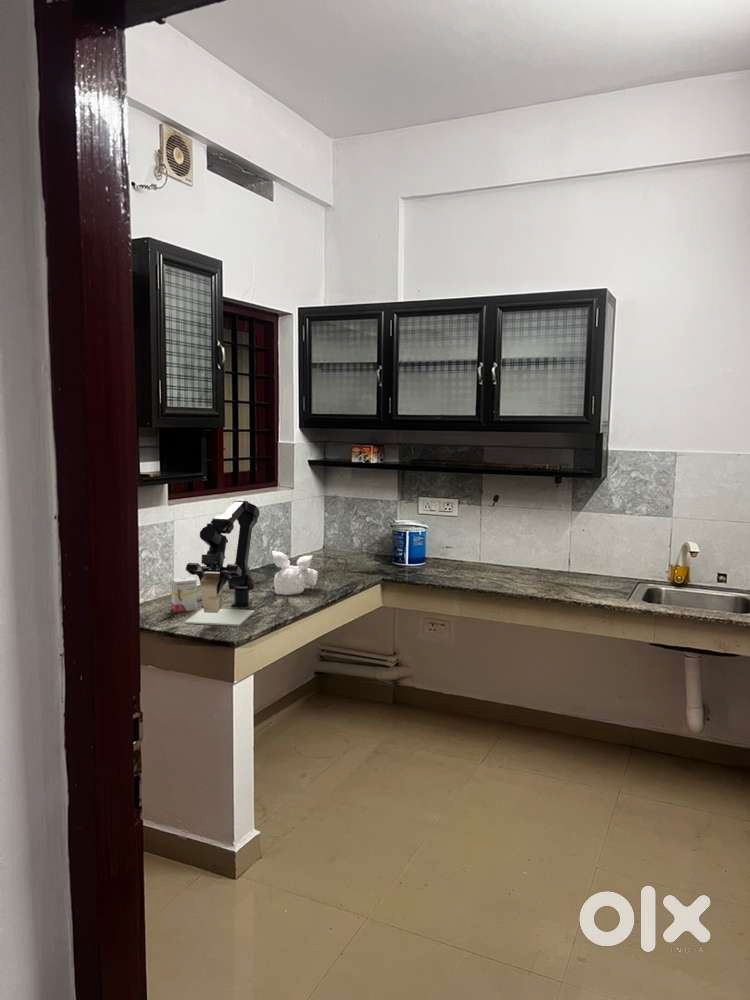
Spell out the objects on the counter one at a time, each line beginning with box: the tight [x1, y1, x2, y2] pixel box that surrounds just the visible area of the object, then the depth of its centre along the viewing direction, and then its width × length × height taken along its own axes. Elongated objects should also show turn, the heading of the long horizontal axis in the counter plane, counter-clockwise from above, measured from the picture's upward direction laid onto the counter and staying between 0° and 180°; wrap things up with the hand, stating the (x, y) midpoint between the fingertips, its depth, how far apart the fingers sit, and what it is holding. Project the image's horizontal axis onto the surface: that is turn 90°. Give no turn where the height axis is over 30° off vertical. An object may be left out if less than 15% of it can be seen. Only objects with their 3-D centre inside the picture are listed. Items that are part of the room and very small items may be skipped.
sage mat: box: [184, 608, 255, 627], centre depth 270 cm, size 19×20×1 cm
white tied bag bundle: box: [271, 550, 319, 596], centre depth 312 cm, size 19×20×20 cm
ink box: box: [171, 576, 198, 613], centre depth 279 cm, size 9×5×12 cm, turn 120°
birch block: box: [199, 572, 224, 613], centre depth 259 cm, size 6×5×12 cm
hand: (210, 593), depth 258 cm, fingers closed on birch block, 5 cm apart
